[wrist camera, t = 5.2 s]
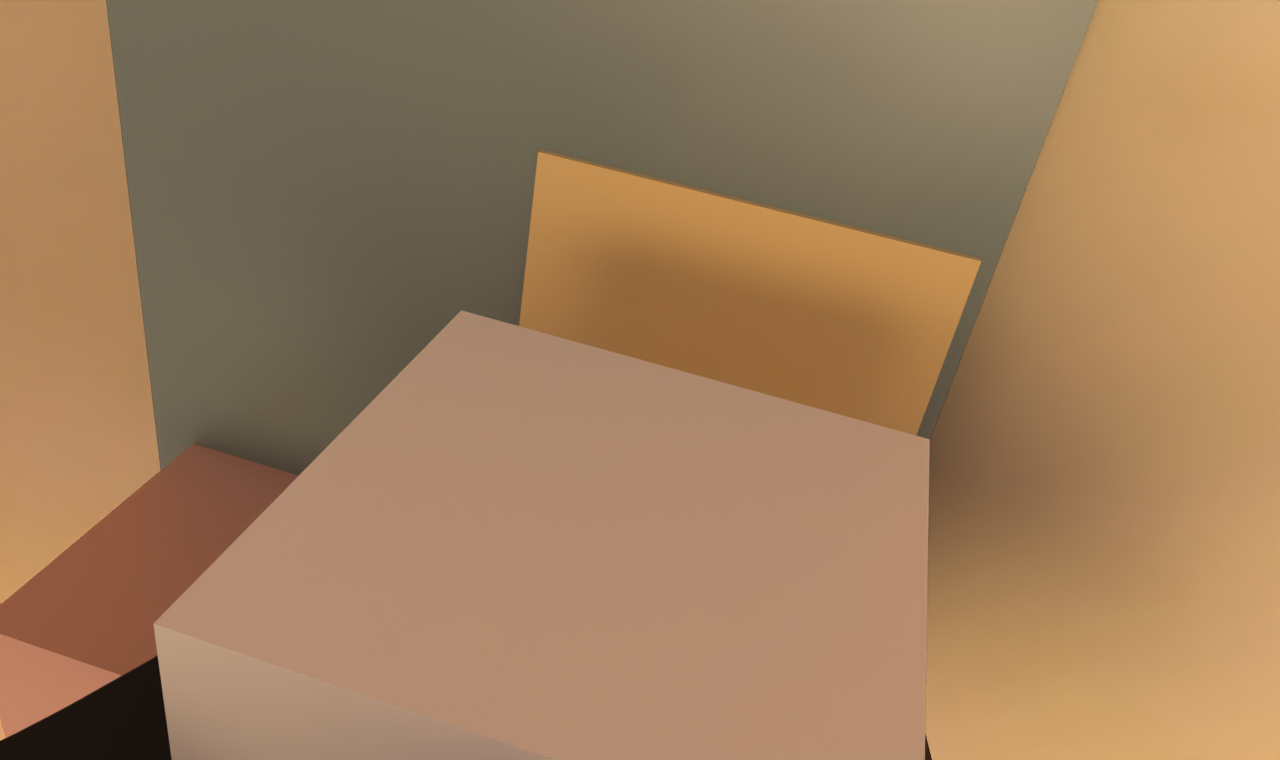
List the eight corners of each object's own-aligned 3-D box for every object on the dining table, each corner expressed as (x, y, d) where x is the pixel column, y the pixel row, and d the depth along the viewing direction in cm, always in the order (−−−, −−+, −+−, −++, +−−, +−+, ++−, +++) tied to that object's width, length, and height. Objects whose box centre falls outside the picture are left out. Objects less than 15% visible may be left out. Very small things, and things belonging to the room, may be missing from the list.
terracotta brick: (217, 698, 20) (49, 902, 16) (192, 443, 17) (-25, 625, 13) (427, 770, 19) (304, 1000, 16) (446, 520, 16) (295, 735, 12)
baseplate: (212, 686, 21) (186, 717, 20) (93, -555, 11) (31, -583, 10) (756, 870, 20) (748, 913, 19) (1226, -378, 9) (1253, -397, 8)
